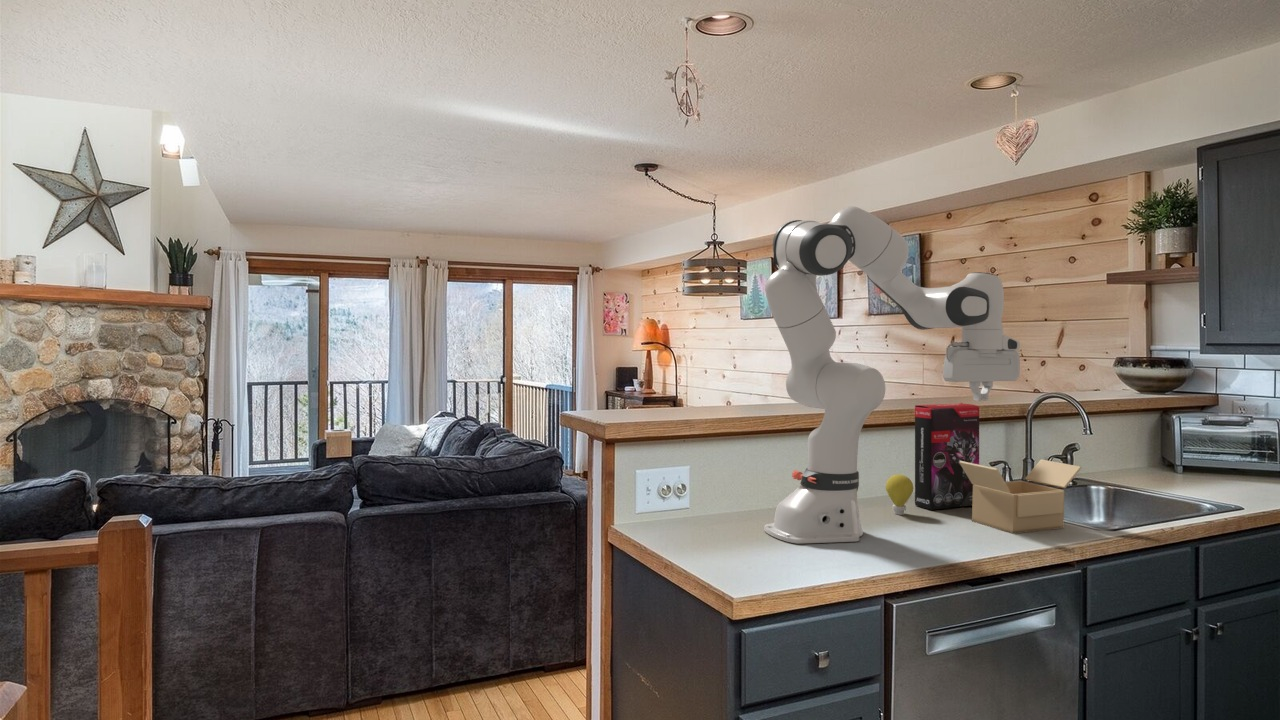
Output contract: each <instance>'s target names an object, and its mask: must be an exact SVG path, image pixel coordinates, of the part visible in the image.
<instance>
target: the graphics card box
mask: <svg viewBox="0 0 1280 720" xmlns="http://www.w3.org/2000/svg"><path fill="white" fill-rule="evenodd" d="M960 461H964V462H968V463H973V464H978V465H980V406H979V405H976V404H970V403H963V402H960V403H944V404H943V403H941V404H939V403H937V404H915V405H914V505H915V506H917V507H919V508H923V509H926V510H932V511H934V510H935V511H936V510H942V509H943V510H944V509H950V508H959V507H962V508H963V507H970V506H972V501H973V485H974V484H972V483H971V481H970V480H969V478H968V476H967V475H966V473H965V471H964V470H963V468H962V466H961V465H960V463H959V462H960Z"/></svg>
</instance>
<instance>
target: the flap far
mask: <svg viewBox="0 0 1280 720" xmlns="http://www.w3.org/2000/svg"><path fill="white" fill-rule="evenodd" d="M1081 469H1082V467H1081V466H1079V465H1073V464H1069V463H1064V462H1057V461H1052V460H1047V459H1040V460H1039V461H1038V462H1037V463H1036V465H1035V466H1034V467H1033V468H1032V469H1031V470H1030V472H1029V473H1028V474H1027V476H1025V477H1024V479H1025V480H1026V481H1029V482H1033V483H1039V484H1043V485H1048V486H1050V487H1056V488H1062V489H1066V488H1067V487H1068V486H1069V484H1070V483H1071V482H1072V480H1073V479H1074V478H1075V477H1076V475H1077V474H1078V473H1079V472H1080V471H1081Z"/></svg>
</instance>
